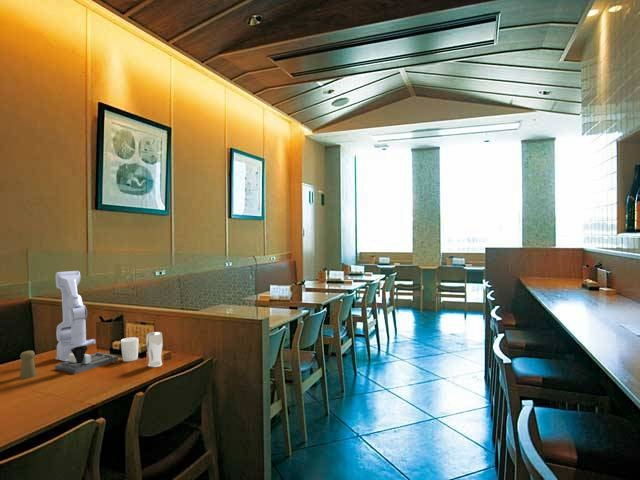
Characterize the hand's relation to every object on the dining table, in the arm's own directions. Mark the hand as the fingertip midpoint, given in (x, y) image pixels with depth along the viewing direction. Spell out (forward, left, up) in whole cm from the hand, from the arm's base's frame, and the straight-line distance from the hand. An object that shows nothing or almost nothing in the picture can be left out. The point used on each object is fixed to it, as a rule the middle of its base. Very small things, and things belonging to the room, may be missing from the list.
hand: (79, 363), depth 183 cm
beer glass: (+28, +19, -3) cm, 34 cm away
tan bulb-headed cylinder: (-12, -15, -3) cm, 20 cm away
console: (-3, +6, -3) cm, 7 cm away
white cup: (+9, +20, -3) cm, 22 cm away
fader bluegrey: (0, +3, -1) cm, 3 cm away
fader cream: (-7, +2, -1) cm, 7 cm away
